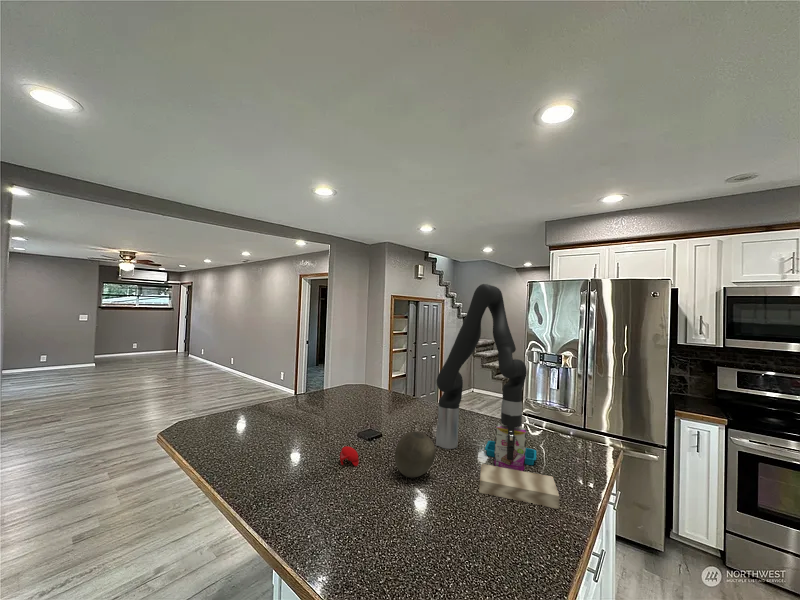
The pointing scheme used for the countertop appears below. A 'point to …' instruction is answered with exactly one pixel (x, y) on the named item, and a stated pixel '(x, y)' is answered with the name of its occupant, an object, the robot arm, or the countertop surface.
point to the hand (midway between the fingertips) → (509, 456)
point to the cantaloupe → (414, 454)
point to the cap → (349, 455)
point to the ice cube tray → (529, 453)
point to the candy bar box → (501, 446)
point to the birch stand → (519, 486)
